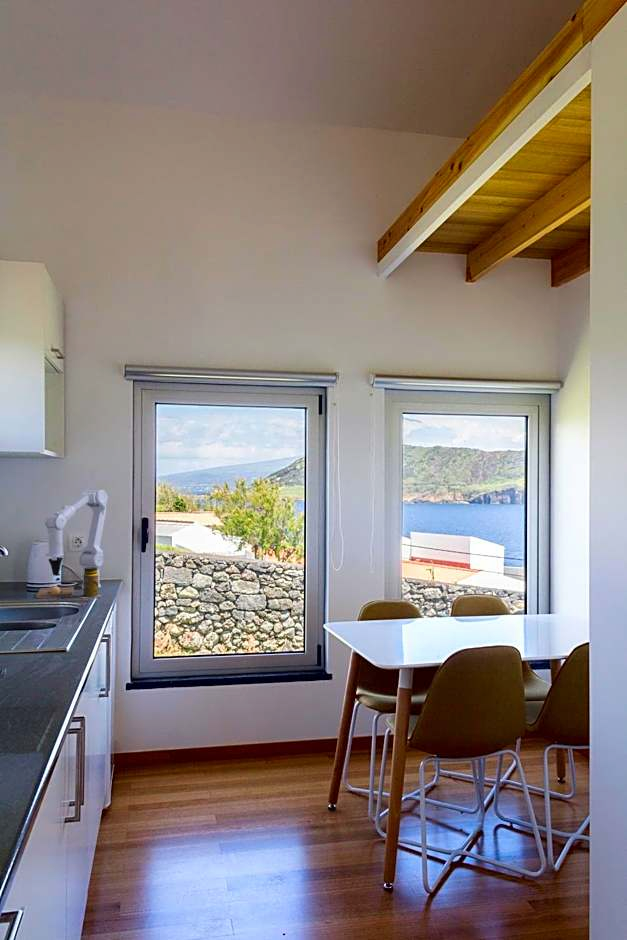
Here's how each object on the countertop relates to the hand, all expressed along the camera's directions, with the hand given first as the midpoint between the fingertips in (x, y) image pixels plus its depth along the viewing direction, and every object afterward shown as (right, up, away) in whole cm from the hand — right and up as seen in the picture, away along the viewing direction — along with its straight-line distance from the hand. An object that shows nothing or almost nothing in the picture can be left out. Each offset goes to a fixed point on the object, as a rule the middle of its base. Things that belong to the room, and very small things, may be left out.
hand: (55, 575), depth 342 cm
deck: (0, -8, 0) cm, 8 cm away
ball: (+1, -6, -3) cm, 7 cm away
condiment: (+15, -9, -5) cm, 18 cm away
